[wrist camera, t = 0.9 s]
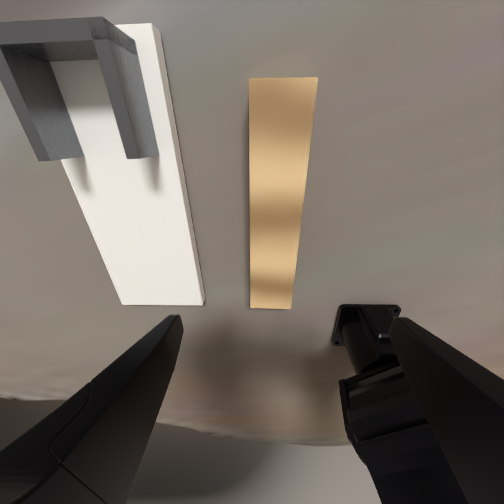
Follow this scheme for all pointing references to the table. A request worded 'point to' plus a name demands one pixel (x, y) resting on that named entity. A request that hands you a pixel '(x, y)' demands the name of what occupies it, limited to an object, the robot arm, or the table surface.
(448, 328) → the table surface
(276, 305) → the oak rail
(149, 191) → the bracket plate
